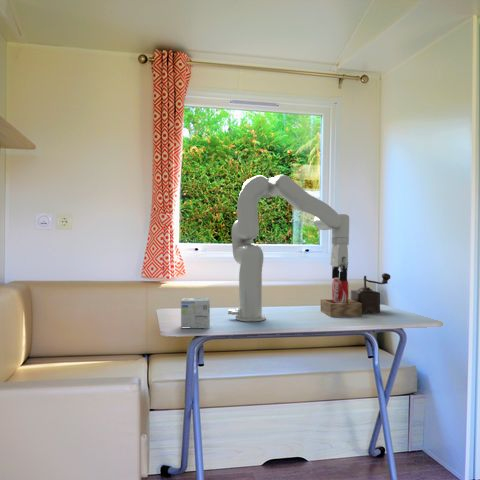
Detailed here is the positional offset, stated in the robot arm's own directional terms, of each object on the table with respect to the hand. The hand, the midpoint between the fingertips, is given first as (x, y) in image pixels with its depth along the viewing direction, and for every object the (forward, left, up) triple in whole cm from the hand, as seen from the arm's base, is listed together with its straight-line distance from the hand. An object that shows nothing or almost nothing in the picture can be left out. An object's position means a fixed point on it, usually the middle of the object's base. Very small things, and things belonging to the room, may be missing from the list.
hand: (339, 279), depth 186 cm
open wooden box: (+1, 0, -15) cm, 15 cm away
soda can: (0, 0, -11) cm, 11 cm away
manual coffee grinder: (+17, +4, -16) cm, 23 cm away
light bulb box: (-64, -21, -16) cm, 69 cm away
